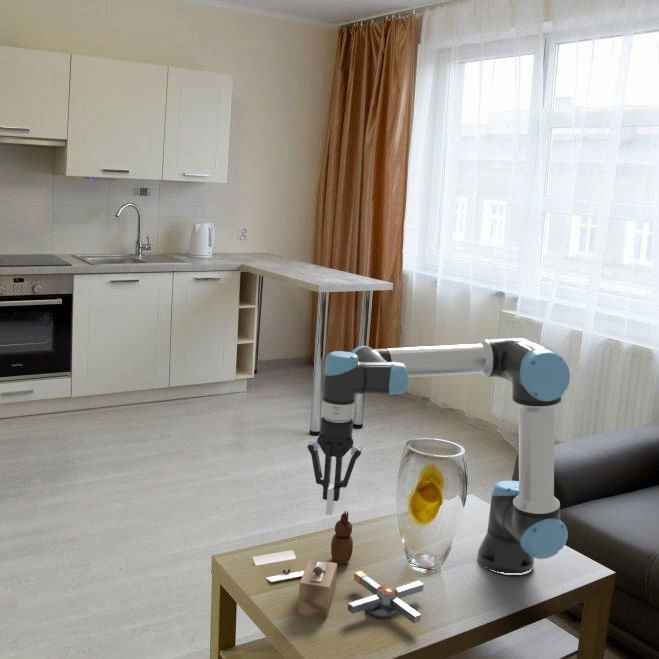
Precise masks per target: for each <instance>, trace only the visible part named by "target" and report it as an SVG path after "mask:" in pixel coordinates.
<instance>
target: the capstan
mask: <svg viewBox="0 0 659 659" xmlns="http://www.w3.org/2000/svg"><path fill="white" fill-rule="evenodd" d="M353 581H354V582H356V583H357V584H359V585H361V586H362V587H364V588H365V589H366V590H368V591H369V592H370V593H371V594H373V595H369V596H367V597H363V598H360V599H357V600H353V601H351V602H348V603H347V605H348V606H347V611H348V612H349V613H351V614H353V615H354V614H356V613H359V612H363V611H365V612H366V613H367V615H369V616H370V617H371V618H374V619H377V620H389V619H392V618H393V617H395V615H396V613H397V612H398V613H399V614H400V615H402V616H403V617H404V618H406V619H407V620H409V621H410V622H411V623H412V624H417V623H420V622H421V617H422V615H421V613H419V612H418V611H417V610H416V609H414V608H412V607H411V606H410V605H408V604H407V603H405V601H403V600H402V598H406V597H409V596H410V595H415V594H417V593H420V592H423V591H424V583H423V582H421V580H416V581H414V582H411V583H407V584H404V585H402V586H399V587H398V586H397V587H395V586H392V585H389V584H382V585H380V584H379V583H377V582H376V581H375V580H374V579H372V578H371V577H369V576H368V575H367V574H366V573H365V572H363V571H362V570H359V571H355V572H354V575H353Z"/></svg>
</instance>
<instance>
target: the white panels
mask: <svg viewBox="0 0 659 659" xmlns="http://www.w3.org/2000/svg"><path fill="white" fill-rule="evenodd" d="M252 559H253V562H254V565H255V566H261V565H266V564H272V563H277V562H283V561H284V562H285V561H289V560H295V559H297V557H296V553H295V551H294V550H293V549H290V550H284V551H279V552H273V553H268V554H267V553H266V554H261V555H255V556H252ZM303 574H304V570H300V572H299V571H294V572H291V569H290V568H288V569H287V571H286V570H285V569H283V571H282V574H277V575H272V576H268V577H265V579H267V580H268V581H269V582H271V583H272V582H277V581H283V580H284V581H285V580H288V579H293V578H298V577H302V576H303Z"/></svg>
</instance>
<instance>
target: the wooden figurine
mask: <svg viewBox="0 0 659 659" xmlns="http://www.w3.org/2000/svg"><path fill="white" fill-rule="evenodd" d="M334 532H335V534H334V535H332V539H331V543H330V555H331V559H332V560H333V563H337V565H345V564H347V563H349V562H350V560H351V558H352V554H353V546H354V541H353V540H354V539H353V537H352V535H351V534H352V533H353V524H352V522H350V521H349V510H344V512H343V513H342V514H341V516H340V520H338V521H336V523H335V525H334Z"/></svg>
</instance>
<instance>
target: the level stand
mask: <svg viewBox="0 0 659 659" xmlns="http://www.w3.org/2000/svg"><path fill="white" fill-rule="evenodd" d="M304 570H305V571H304ZM304 570H303V571H304V574H303V576H301V579H300V582H299V590H298V602H297V603H298V604H297V615H303V616H308V617H314V618H319V619H320V618H321V619H326V620H327V618H328V616H329V614H330V609H331V607H332V604H333V600H334V597H335V593H336V592H335V591H336V581H337V572H338V563H336V562H330V561H324V560H319V559H318V560H317V559H311V558H309V559H308V562H307V564H306V566H305V569H304Z"/></svg>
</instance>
